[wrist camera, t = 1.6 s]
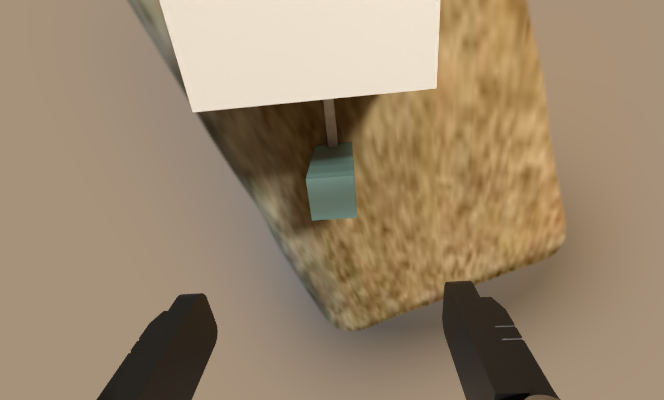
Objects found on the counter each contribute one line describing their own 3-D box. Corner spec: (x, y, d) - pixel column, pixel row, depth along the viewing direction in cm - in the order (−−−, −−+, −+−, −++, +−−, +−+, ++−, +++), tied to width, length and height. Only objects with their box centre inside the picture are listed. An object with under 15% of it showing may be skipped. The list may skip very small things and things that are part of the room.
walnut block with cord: (264, -72, 17) (206, -150, 10) (357, -85, 17) (366, -176, 10) (303, 180, 24) (285, 241, 17) (370, 175, 23) (381, 235, 16)
